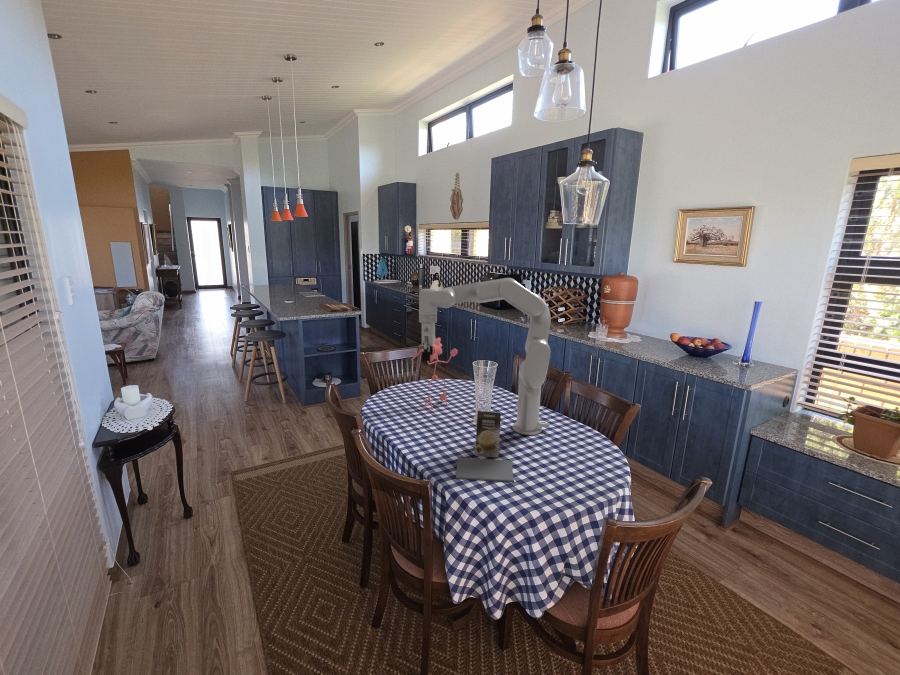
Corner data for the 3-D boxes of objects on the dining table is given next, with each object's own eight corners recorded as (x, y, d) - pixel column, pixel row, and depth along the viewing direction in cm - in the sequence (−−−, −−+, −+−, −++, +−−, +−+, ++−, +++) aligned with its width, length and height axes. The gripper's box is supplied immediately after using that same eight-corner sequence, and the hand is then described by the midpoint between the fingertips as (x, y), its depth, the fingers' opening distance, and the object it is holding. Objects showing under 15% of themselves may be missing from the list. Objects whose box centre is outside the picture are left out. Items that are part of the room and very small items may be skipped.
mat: (511, 461, 164) (511, 460, 164) (513, 481, 151) (514, 480, 150) (457, 458, 165) (457, 457, 165) (455, 478, 152) (455, 477, 152)
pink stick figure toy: (461, 402, 223) (461, 335, 215) (420, 414, 206) (419, 342, 199) (441, 394, 234) (441, 330, 227) (401, 405, 218) (400, 336, 210)
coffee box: (474, 456, 168) (476, 417, 164) (475, 448, 174) (476, 410, 171) (498, 457, 167) (500, 418, 164) (498, 450, 173) (500, 411, 170)
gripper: (434, 322, 176) (434, 363, 180) (438, 315, 193) (438, 352, 197) (416, 321, 177) (416, 362, 180) (421, 314, 193) (421, 352, 197)
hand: (427, 357), depth 189 cm, fingers open, 9 cm apart
